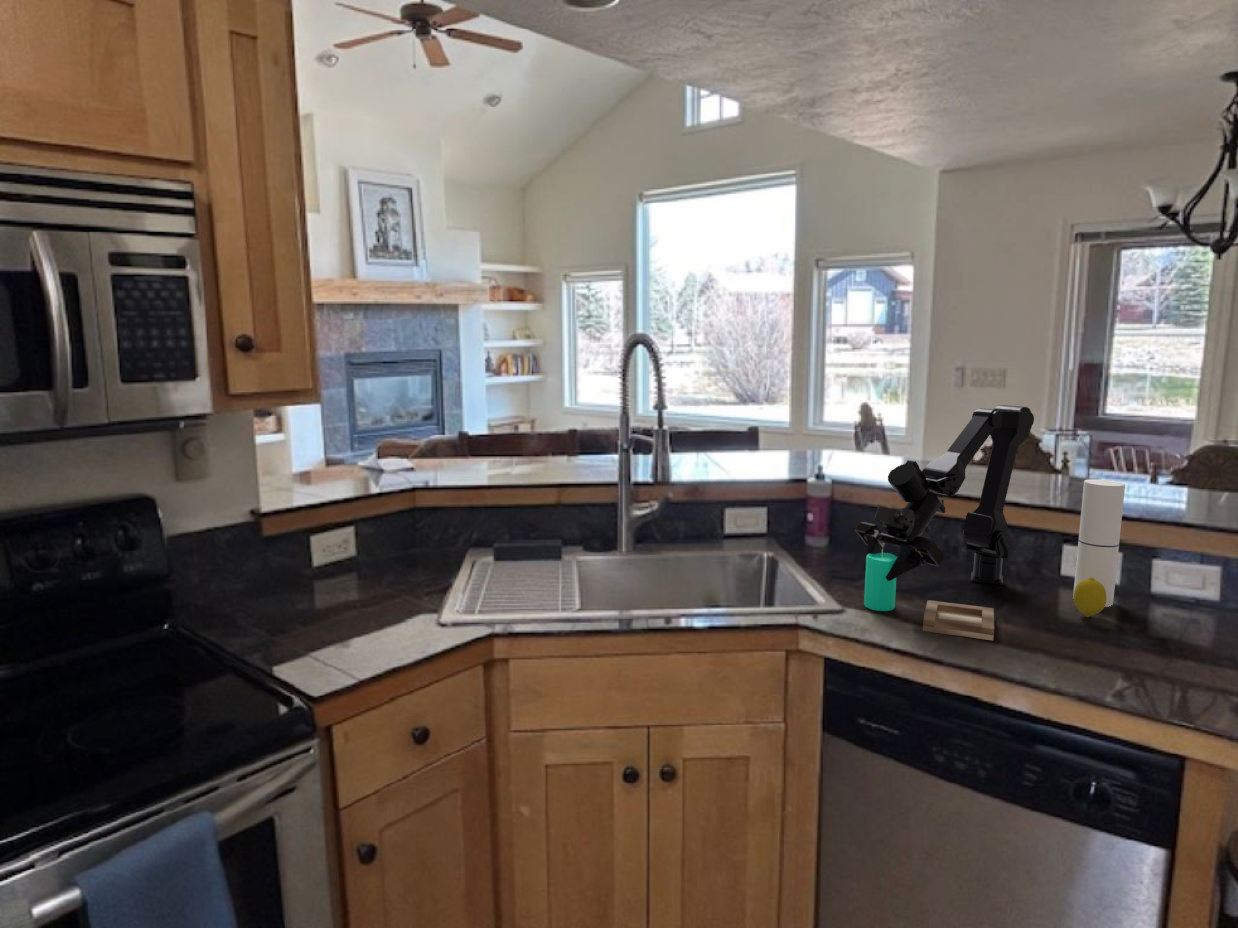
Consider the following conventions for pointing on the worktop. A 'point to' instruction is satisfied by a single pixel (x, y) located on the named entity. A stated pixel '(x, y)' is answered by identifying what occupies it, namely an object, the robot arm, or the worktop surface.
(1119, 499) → the cylindrical container
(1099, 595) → the lemon
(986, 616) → the candle stand
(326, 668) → the worktop surface
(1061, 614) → the worktop surface
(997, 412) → the robot arm
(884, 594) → the candle
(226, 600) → the worktop surface
